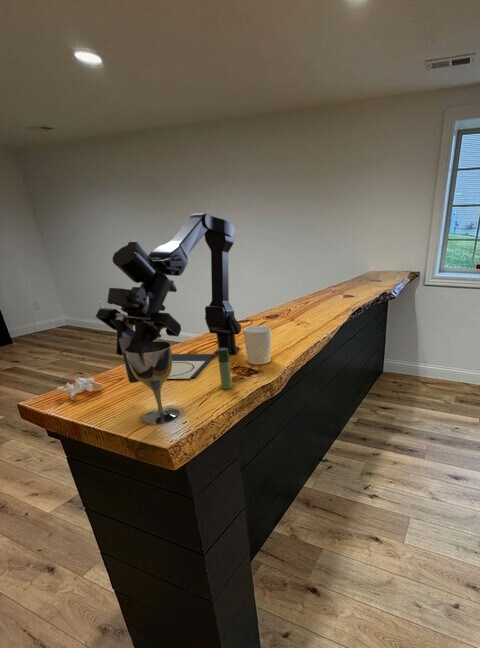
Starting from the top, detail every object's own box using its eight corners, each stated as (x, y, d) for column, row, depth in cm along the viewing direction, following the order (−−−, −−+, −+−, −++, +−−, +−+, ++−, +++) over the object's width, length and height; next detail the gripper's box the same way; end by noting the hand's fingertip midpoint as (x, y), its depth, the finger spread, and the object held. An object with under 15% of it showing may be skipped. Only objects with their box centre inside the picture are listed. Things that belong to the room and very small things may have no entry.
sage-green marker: (223, 385, 88) (218, 347, 84) (233, 385, 88) (229, 347, 84) (220, 389, 86) (215, 350, 82) (230, 389, 86) (226, 350, 82)
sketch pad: (164, 354, 110) (164, 353, 110) (215, 355, 110) (214, 353, 110) (131, 379, 91) (131, 378, 91) (193, 379, 91) (193, 378, 91)
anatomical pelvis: (87, 371, 86) (103, 373, 83) (92, 387, 87) (108, 390, 84) (51, 382, 79) (68, 385, 76) (57, 399, 80) (74, 402, 78)
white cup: (267, 366, 101) (265, 333, 97) (241, 364, 102) (238, 331, 98) (275, 358, 108) (274, 326, 104) (252, 356, 110) (249, 325, 106)
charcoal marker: (132, 378, 80) (122, 336, 76) (143, 378, 80) (134, 336, 76) (126, 383, 78) (116, 339, 74) (137, 382, 78) (128, 339, 74)
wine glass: (131, 420, 71) (114, 350, 65) (161, 404, 77) (148, 339, 72) (162, 428, 68) (148, 355, 62) (190, 410, 75) (179, 343, 69)
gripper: (92, 271, 76) (58, 332, 71) (163, 274, 71) (132, 340, 66) (128, 301, 86) (101, 357, 81) (192, 306, 81) (168, 365, 76)
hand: (123, 355), depth 75 cm, fingers closed on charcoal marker, 2 cm apart
